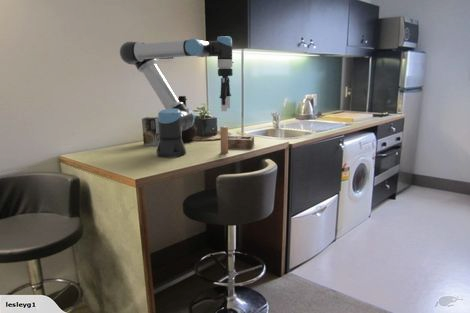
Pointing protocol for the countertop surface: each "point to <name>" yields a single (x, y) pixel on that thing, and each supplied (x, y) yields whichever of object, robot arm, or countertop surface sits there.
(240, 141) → the socket block
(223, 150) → the peg
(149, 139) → the coffee box
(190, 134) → the glass bottle
